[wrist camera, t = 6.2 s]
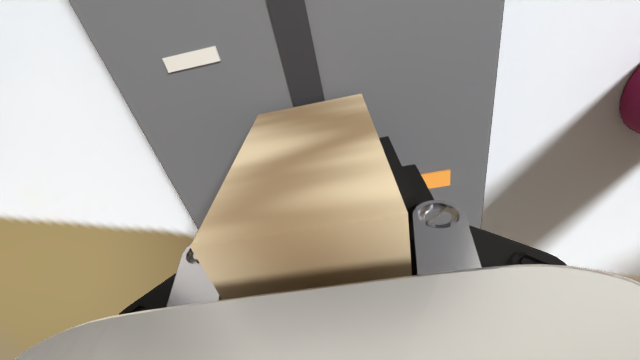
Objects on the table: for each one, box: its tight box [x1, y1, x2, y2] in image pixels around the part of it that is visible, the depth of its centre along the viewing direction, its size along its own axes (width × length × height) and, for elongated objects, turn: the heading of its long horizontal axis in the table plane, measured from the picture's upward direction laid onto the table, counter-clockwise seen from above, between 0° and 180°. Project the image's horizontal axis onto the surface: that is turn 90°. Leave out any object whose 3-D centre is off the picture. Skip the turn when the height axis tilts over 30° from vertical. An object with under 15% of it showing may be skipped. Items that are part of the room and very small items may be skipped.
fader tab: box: [190, 94, 412, 300], centre depth 10 cm, size 4×6×7 cm
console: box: [69, 0, 505, 230], centre depth 12 cm, size 14×24×3 cm, turn 12°
